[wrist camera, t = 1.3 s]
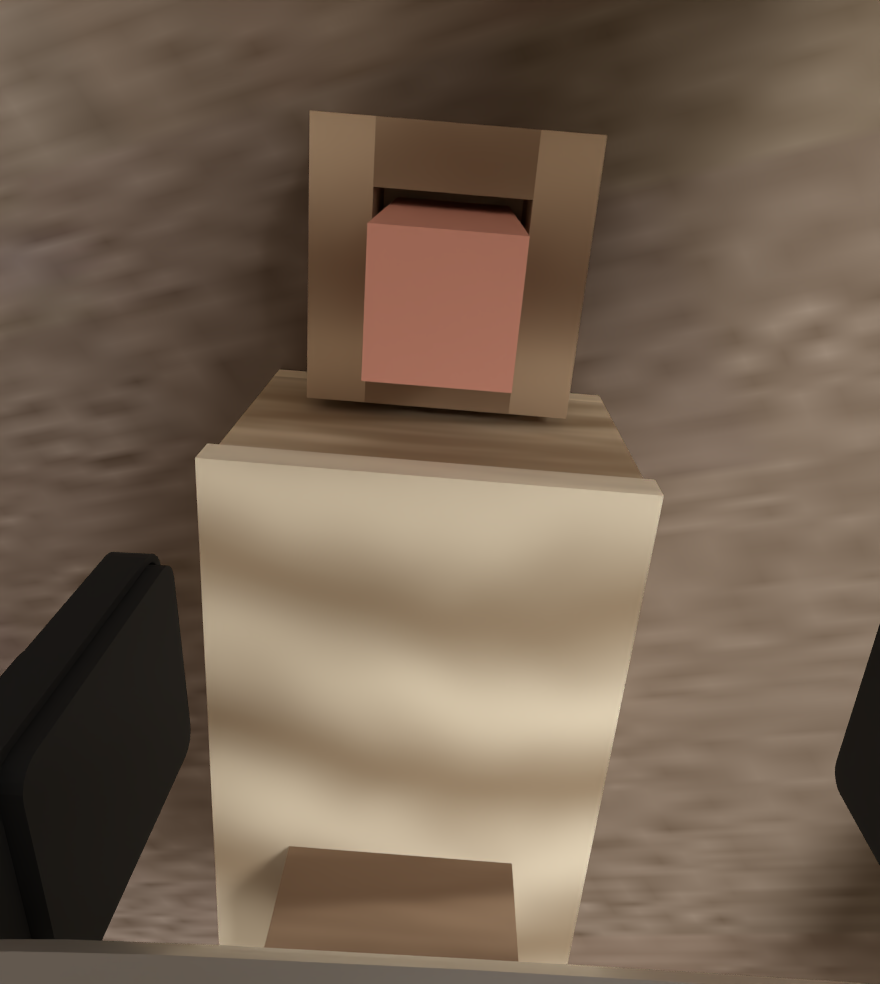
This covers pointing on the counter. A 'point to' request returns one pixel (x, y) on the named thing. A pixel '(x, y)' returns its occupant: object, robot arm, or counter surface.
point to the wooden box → (544, 314)
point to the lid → (412, 695)
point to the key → (443, 294)
